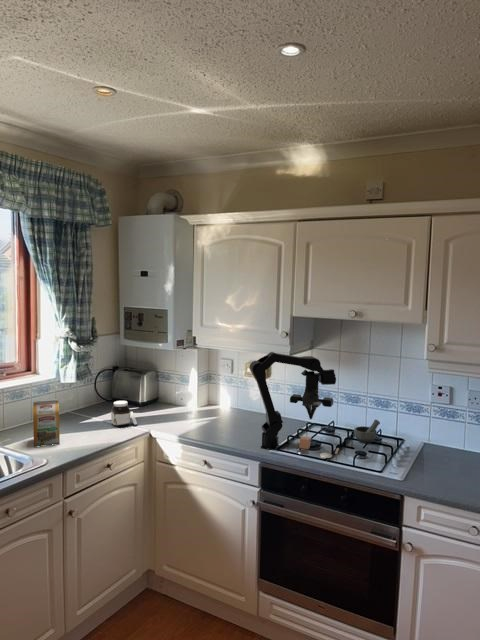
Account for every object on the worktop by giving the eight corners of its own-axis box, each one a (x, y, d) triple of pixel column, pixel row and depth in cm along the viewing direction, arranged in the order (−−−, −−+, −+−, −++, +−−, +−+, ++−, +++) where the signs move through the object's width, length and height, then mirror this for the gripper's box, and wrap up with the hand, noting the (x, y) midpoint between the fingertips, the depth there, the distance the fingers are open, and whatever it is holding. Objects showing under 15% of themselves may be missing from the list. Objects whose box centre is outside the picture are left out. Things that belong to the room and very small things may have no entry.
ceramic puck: (318, 460, 202) (319, 456, 202) (321, 455, 207) (321, 452, 207) (330, 461, 201) (331, 458, 201) (333, 457, 205) (333, 453, 205)
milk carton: (33, 447, 213) (32, 404, 211) (34, 439, 222) (33, 398, 221) (59, 444, 217) (58, 402, 215) (58, 436, 226) (58, 396, 225)
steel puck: (295, 456, 206) (295, 452, 206) (298, 452, 210) (298, 449, 210) (307, 458, 204) (307, 454, 204) (309, 454, 209) (309, 450, 209)
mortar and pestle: (352, 446, 219) (353, 420, 218) (354, 439, 228) (355, 414, 227) (378, 449, 216) (379, 423, 215) (379, 442, 225) (380, 417, 223)
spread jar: (109, 424, 247) (108, 401, 246) (129, 419, 254) (129, 398, 253) (120, 429, 238) (120, 406, 237) (140, 425, 245) (140, 402, 244)
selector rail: (295, 451, 212) (295, 447, 212) (298, 446, 218) (298, 443, 217) (336, 457, 206) (337, 453, 206) (339, 452, 211) (339, 448, 211)
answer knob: (299, 447, 212) (299, 439, 212) (301, 445, 216) (301, 436, 216) (308, 449, 211) (308, 440, 211) (310, 446, 215) (310, 437, 214)
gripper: (286, 386, 214) (285, 421, 215) (329, 390, 207) (328, 426, 208) (293, 381, 224) (292, 414, 225) (334, 385, 217) (333, 419, 219)
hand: (310, 419), depth 219 cm, fingers closed
